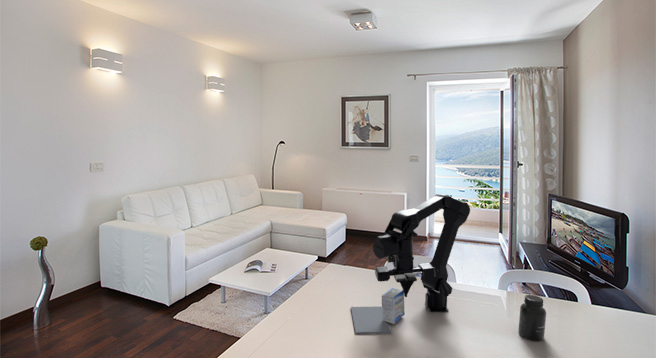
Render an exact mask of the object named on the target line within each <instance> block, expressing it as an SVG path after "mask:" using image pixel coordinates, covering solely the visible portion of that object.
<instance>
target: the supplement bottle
mask: <svg viewBox="0 0 656 358" xmlns="http://www.w3.org/2000/svg"><path fill="white" fill-rule="evenodd" d="M523 302H524V303H522V304H521V305H520V309H519V317H518V319H519V320H518V334H519V335H520V336H521V337H523V338H524V339H526V340H529V341H534V342H540V341H543V340H544V339H545V333H546V321H547V310H546V309H545V308H544V299H543V298H542V297H540V296H538V295H533V294H526V295H525V296H524V300H523Z"/></svg>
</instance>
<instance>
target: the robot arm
mask: <svg viewBox="0 0 656 358" xmlns="http://www.w3.org/2000/svg"><path fill="white" fill-rule="evenodd" d="M441 210H443V212H442V217H443V222H444V224H443V226H442V230H441V233H440V236H439V239H438V242H437V245H436V247H435V250H434V254H433V256H432V259H431V261H430V262H425V263H424V262H423V263H419V264H418V265H417V266H418V267H414V260H415V259H414V257H415V256H414V248H413V247H414V246H413V238H414V237H418V233H417V232H416V231H415V230H416V229H417V228H418V227H419V226H420V223H421V222H422V221H423V220H425V219H427V218H428V217H430V216H432V215H434V214H435V213H437V212H438V211H441ZM470 214H471V208H470V205H469V203H468V202H465V201H461V200H458V199H455V198H453V197H452V196H450V195H448V194H443V193H436V194H435V195H434V196H432V197H431V198H429V199H428V200H427V199H426V200H425V201H424V202H422V203H419V204H418V205H416V206H415V207H412V208H410V209H402V210H400V211H396V212H394V213H393V214H392V215H391V218H390V221H389V223H388V225H387V226H386V228H385V230H384V232H383V233H384V235H379V236H376V240H375V241H374V242H373V245H372V250H373V254H374V255H375V257H376V258H377V259H378V260H382V259H385V258H386V261H387V263H388V264H389V263H392V265H393V267H394V268H395V269H388V265H385V266H376V267H375V269H374V274H375V277H376V279H377V282H388V281H389V280H390V279H391V277H393V278H394V279H395V282H396V283H400V286H401V288H402V289H401V290H403V291H404V298H407V297H408V294H409V292H410V289H411V287H412V286H413V284H414V283H415V282H417V281H418V278H417V275H419V274H420V275H421V276H420V281H421V283H422V286H423V288H424V289H426V293H425V302H424V305H425V306H426V307H427V309H428V310H429V312H436V313H437V312H449V308H448V306H447V305H448V297H449V296H450V295H451V294H452V292H453V287H452V286H451V285H450V284H449V282H448V277H449V273H448V269H447V266H448V261H449V259H450V256H451V253H452V250H453V246H454V244H455V240H456V238H457V234H458V231H459V229H460V227H461V226H462V225H464V223H466V222H467V219H468V218H469V216H470ZM399 231H400V232H399Z"/></svg>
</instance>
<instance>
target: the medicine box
mask: <svg viewBox="0 0 656 358" xmlns="http://www.w3.org/2000/svg"><path fill="white" fill-rule="evenodd" d="M381 307H382V320H383V321H386V322H388V324H390V323H391V324H394V325H395V324H396V323H398V321H400V319H401V318H403V316H405V296H404V291H403V289H401V288H396V287H392V288H391V289H389V290H388V291H386V292H385V293H384V294H382V295H381Z"/></svg>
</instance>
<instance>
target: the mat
mask: <svg viewBox="0 0 656 358" xmlns="http://www.w3.org/2000/svg"><path fill="white" fill-rule="evenodd" d="M350 312H351V316H352V317H351V318H352V322H353V325H354V326H353V327H354V332H355V333H354V334H355V335H380V334H386V335H389V334H392V330H391V326H390V325H389V324H390V323H389V322H386V321H383V320H382V306H350Z"/></svg>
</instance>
